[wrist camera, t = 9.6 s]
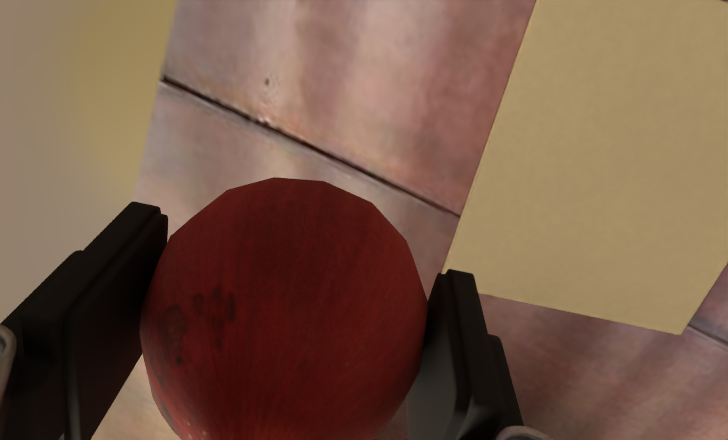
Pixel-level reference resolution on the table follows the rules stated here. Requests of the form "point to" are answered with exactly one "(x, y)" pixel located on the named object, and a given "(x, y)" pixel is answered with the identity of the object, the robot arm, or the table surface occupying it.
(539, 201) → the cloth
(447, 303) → the robot arm
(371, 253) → the onion
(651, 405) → the table surface
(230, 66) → the table surface
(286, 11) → the table surface
